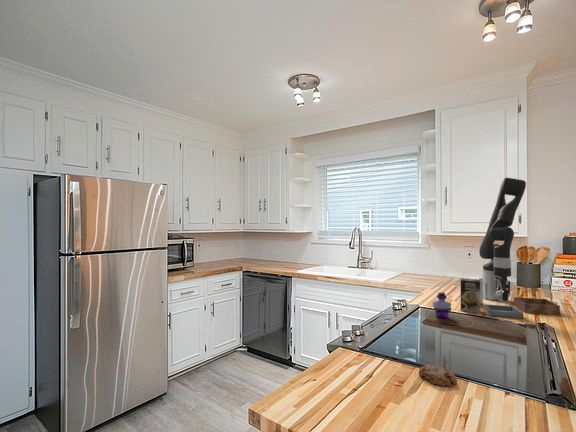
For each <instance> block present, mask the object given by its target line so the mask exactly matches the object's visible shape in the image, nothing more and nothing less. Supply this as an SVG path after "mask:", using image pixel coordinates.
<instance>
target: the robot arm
mask: <svg viewBox="0 0 576 432" xmlns="http://www.w3.org/2000/svg"><path fill="white" fill-rule="evenodd" d="M526 187H527V183H526V181H525V180H523V179H518V178H513V177H504V178H503V179H502V182H501V184H500V188H499V192H498V195H497V199H496V202H495V206H494V209H493V212H492V215H491V218H490V221H489V225H488V227H487V230H486V233H485V235H484V237H483V240H482V242H481V244H480V246H479V249H478V251H479V252H478V253H479V256H480V257H481V258H482V259H484V260H490V261H488V262H487V263H485V264H483V265H482V269H483V270H482V278H483V299H484V300H490V301H498V299H497V297H496V296H495V294H496V292H497V291H499V290H501V289H502V296H503V301H506V302H509V297H508V294H509V293H511V281H510V280H508V277H509V278H510V277H511V276H512V261H511V245H512V243H513V240H514V237H515V232H514V229H513V228H512V225H513V223H514V220H515V215H516V212H517V211H518V207H519V205H520V203H521V200H522V199H523V195H524V193H525V190H526ZM506 196H513V197H514V198H512V200H510V201H509V202H506ZM498 241H499V242H503V243H502V244H499V243H495V242H498ZM505 289H506V290H505Z"/></svg>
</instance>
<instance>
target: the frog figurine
mask: <svg viewBox="0 0 576 432" xmlns="http://www.w3.org/2000/svg"><path fill="white" fill-rule="evenodd" d="M505 290H506V289H505ZM511 294H512V293H511V292H510V293H509V294H508V298H509V297H511ZM495 296H496V297H497V299H498V300H497V301H499V302H500V303H506V302H507V301H503V296H502V289H501V290H499V291H497V292H496V294H495Z"/></svg>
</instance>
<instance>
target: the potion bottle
mask: <svg viewBox="0 0 576 432" xmlns="http://www.w3.org/2000/svg"><path fill="white" fill-rule="evenodd" d="M436 298H437V299H438V300H434V301H433V302H432V306H433V310H434V312H435V317H436V318H438V319H442V320H444V319H445V320H448V319H449V314H451V313H452V303H451V302H449V301H446V299H447V294H446V293H445V292H441V291H439V292H438V293H437V294H436Z"/></svg>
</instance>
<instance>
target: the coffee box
mask: <svg viewBox="0 0 576 432" xmlns="http://www.w3.org/2000/svg"><path fill="white" fill-rule="evenodd" d="M459 280H460V282H459V283H460V311H461V312H468V313H476V314H477V313H478V314H481V304H480V280H471V279H467V278H460V279H459Z"/></svg>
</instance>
